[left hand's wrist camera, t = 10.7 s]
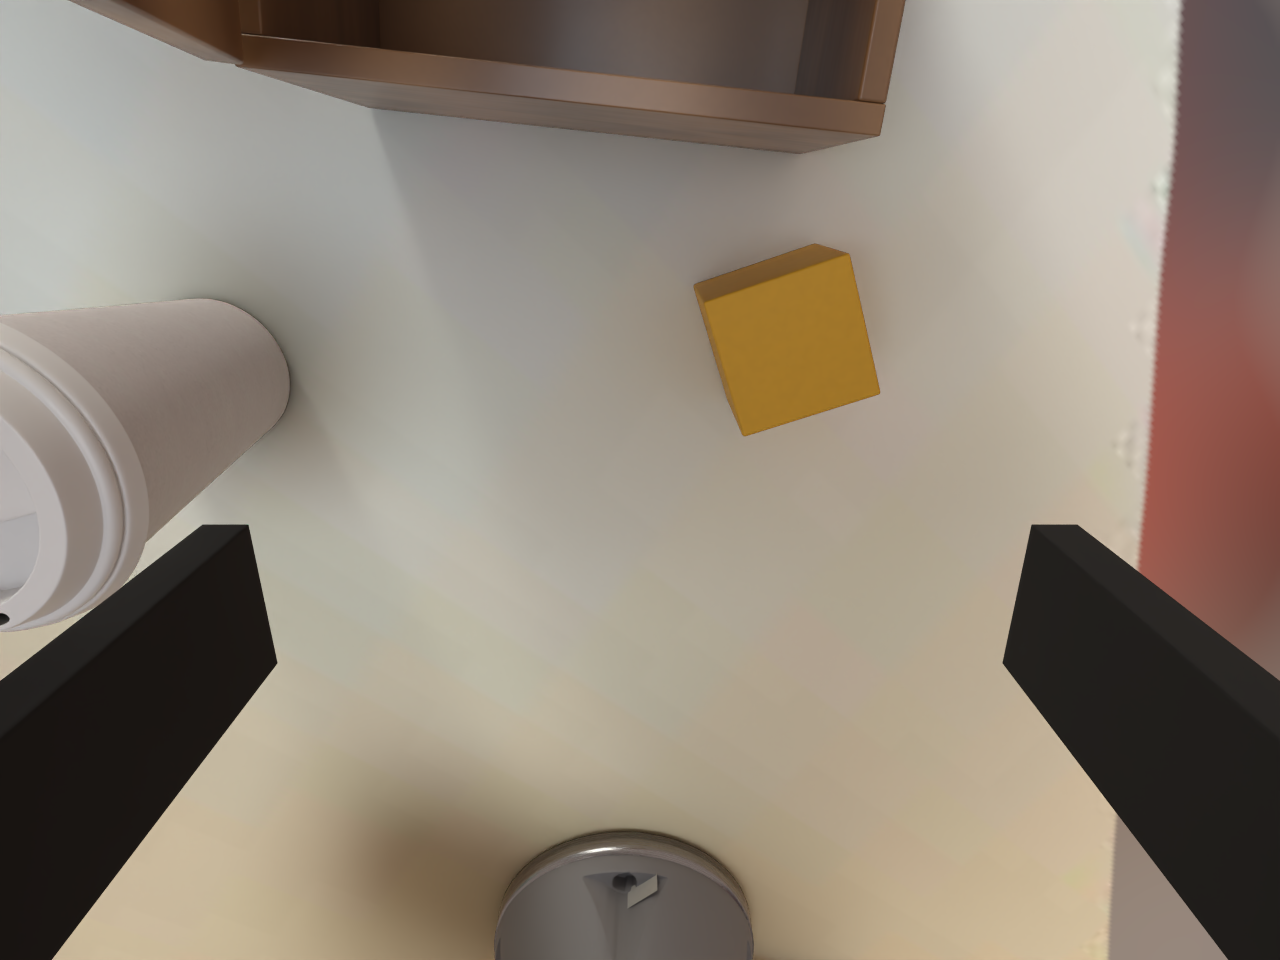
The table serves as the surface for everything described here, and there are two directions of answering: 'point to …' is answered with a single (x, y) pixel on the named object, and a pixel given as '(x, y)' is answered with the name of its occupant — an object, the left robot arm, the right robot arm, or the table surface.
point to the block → (788, 337)
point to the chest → (598, 63)
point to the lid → (181, 24)
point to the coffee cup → (117, 438)
